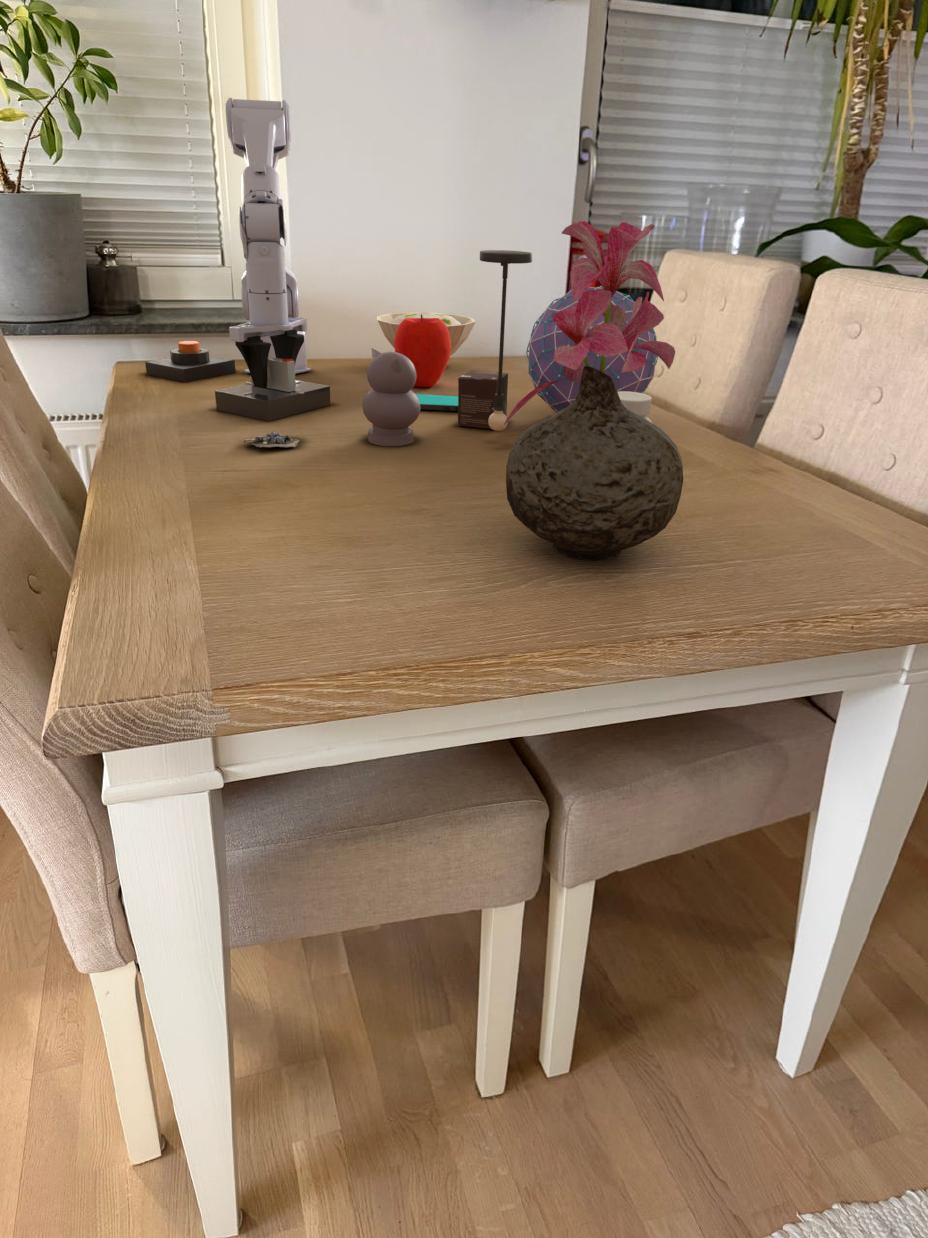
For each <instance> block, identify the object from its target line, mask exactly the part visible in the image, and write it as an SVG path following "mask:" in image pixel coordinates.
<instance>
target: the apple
mask: <svg viewBox="0 0 928 1238" xmlns="http://www.w3.org/2000/svg"><path fill="white" fill-rule="evenodd" d="M394 345H395V349H394V352H397V353H400V354H402V355H404V356H406V357H407V358H409V359H410V361H411V362H412V363H413V365H414V367H415V370H416V382H415V384H414V386H413V387H415V388H431V387H433V386H435V385H436V384H437V383H438V381H440V379H441V377H442V375H443V374H444V372H445V370H446V368H447V366H448V363H449V361H450V358H451V356H450V354H451V341H450V335H449V331H448V329H447V327H446V324H445V323H444V322H442V321H441V320H440V319H439V318H423V317H422V314H421V318H406V319H404V320H403V321H402V322H401V323H400V325H399V327H398V329H397V332H396V336H395V340H394Z"/></svg>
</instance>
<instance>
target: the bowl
mask: <svg viewBox="0 0 928 1238" xmlns="http://www.w3.org/2000/svg"><path fill="white" fill-rule="evenodd" d="M421 314H422V317H423V318H439V319H440V320H441V321H442V322H444V323H445V324H446V327H447V329H448V331H449V335H450V341H451V354H450V357H451V356H453V355H454V354H455V353H456V352H457V351H458V350H459V348H460V347H461V346H462V345H463V344H464V343H465V341H467V339H468V338H469V336H470V334H471V332H472V330H473V328H474V326H475V324H476V320H475V319H474V318H473V317H469V316H465V315H462V314H461V315H460V314H453V313H442V312H422V311H421V312H420V311H418V312H416V311H415V312H414V311H411V312H410V311H409V312H394V313H393V312H392V313H385V314H381V315H378V316H376V320H377V322H378V325H379V327H380V329H381V331H382V334H383V336H384V337H385V339H386V340H387V341H388V343H389V344H390V345H391V346H392V348H393V349H394V350H395V345H394V340H395V336H396V332H397V329H398V327H399V325H400V323H401V322H402V321H403V320H404V319H406V318H421Z"/></svg>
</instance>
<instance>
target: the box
mask: <svg viewBox="0 0 928 1238" xmlns="http://www.w3.org/2000/svg"><path fill="white" fill-rule="evenodd" d="M498 372H499V371H498ZM498 372H496V371H487V370H475V369H471V370H468V371H467V372H465V373H463V374H462V375H460V376H459V377H458V378H457V380H458V381H457V382H458V383H457V384H458V385H457V390H458V391H457V393H458V394H457V396H458V411H457V425H458V427H470V428H480V429H489V430H492V429H491V428H490V426H489V423H488V419H489V417H490V415H491V414H493V413H494V410H492V408H494V400H495V394H496V393H497V388H498ZM508 384H509V373H508V372H502V394H504V403H503V407H504V409H505V410H504V411H503V414H505V415H506V416H507V412H508V411H507V410H508V408H507V407H508Z"/></svg>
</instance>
